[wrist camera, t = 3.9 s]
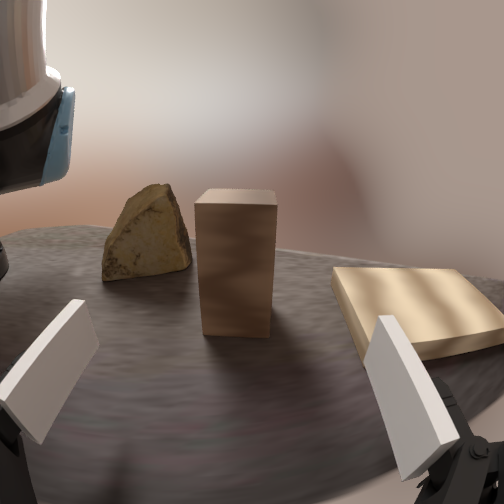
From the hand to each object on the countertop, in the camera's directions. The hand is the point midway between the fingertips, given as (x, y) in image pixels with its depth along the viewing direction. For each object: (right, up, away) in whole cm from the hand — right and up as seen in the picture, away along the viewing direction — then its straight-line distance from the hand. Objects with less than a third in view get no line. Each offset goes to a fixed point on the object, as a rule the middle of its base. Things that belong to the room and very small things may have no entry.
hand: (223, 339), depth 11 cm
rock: (-11, +1, +19) cm, 22 cm away
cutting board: (+17, -2, +11) cm, 20 cm away
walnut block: (0, -2, +11) cm, 12 cm away
